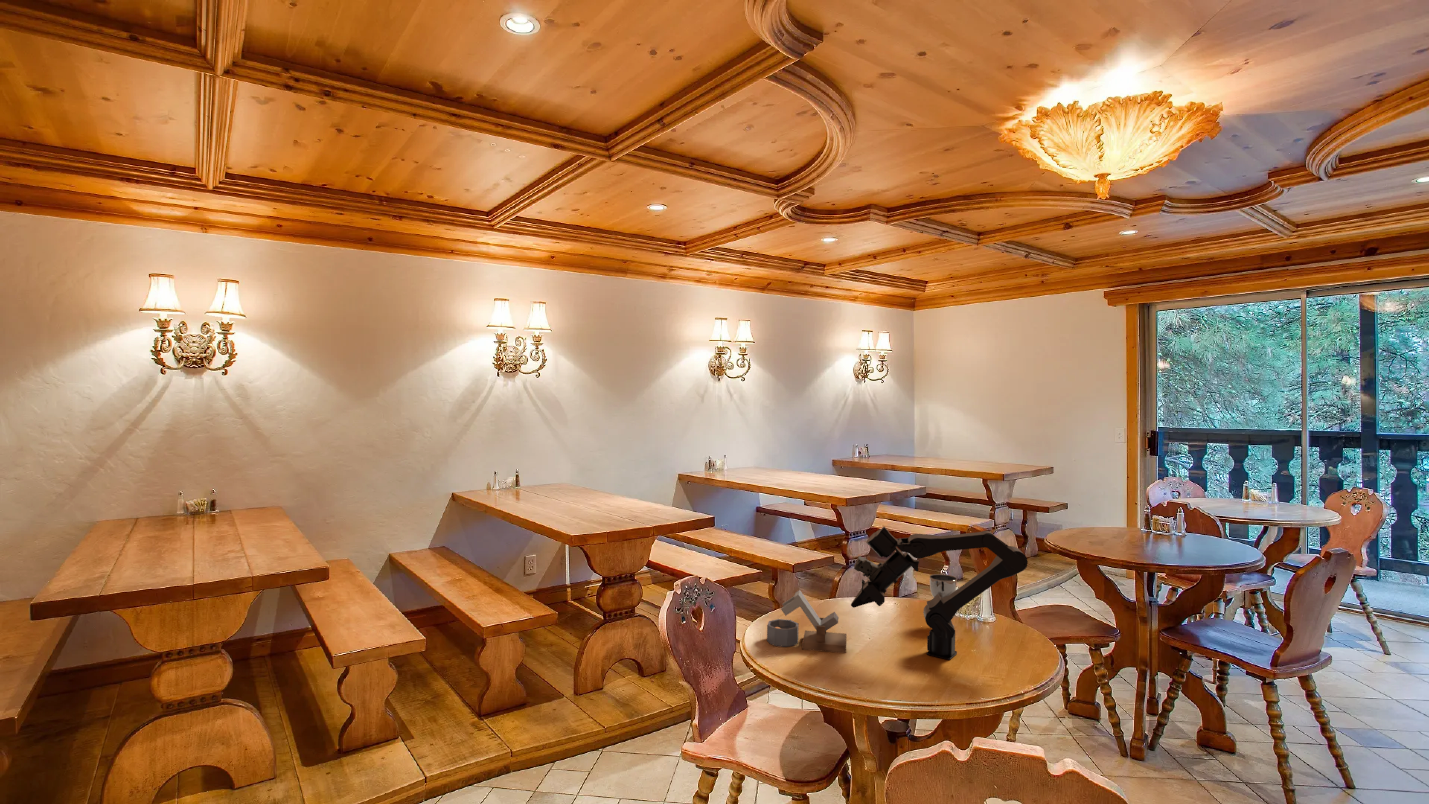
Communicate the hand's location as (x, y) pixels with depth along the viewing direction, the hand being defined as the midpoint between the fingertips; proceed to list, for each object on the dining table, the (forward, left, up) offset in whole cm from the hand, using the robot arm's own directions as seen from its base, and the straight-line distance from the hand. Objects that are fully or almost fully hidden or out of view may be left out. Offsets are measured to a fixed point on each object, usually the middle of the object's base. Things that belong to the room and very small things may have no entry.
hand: (851, 606), depth 202 cm
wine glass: (-14, -34, -12) cm, 39 cm away
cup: (+18, +8, -12) cm, 23 cm away
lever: (+7, +3, -8) cm, 11 cm away
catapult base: (+8, +4, -12) cm, 14 cm away
